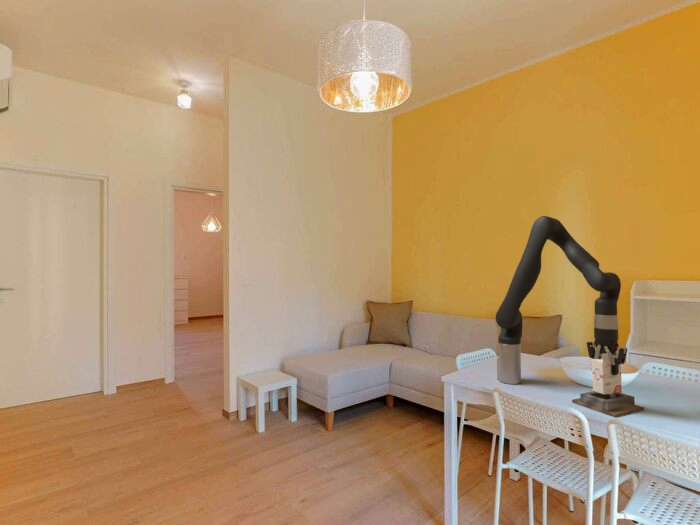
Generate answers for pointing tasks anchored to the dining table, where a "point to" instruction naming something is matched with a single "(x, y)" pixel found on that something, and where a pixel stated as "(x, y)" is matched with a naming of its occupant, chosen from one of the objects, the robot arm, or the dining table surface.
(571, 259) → the robot arm
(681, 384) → the dining table surface
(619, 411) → the socket plate
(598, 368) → the ink cartridge box
